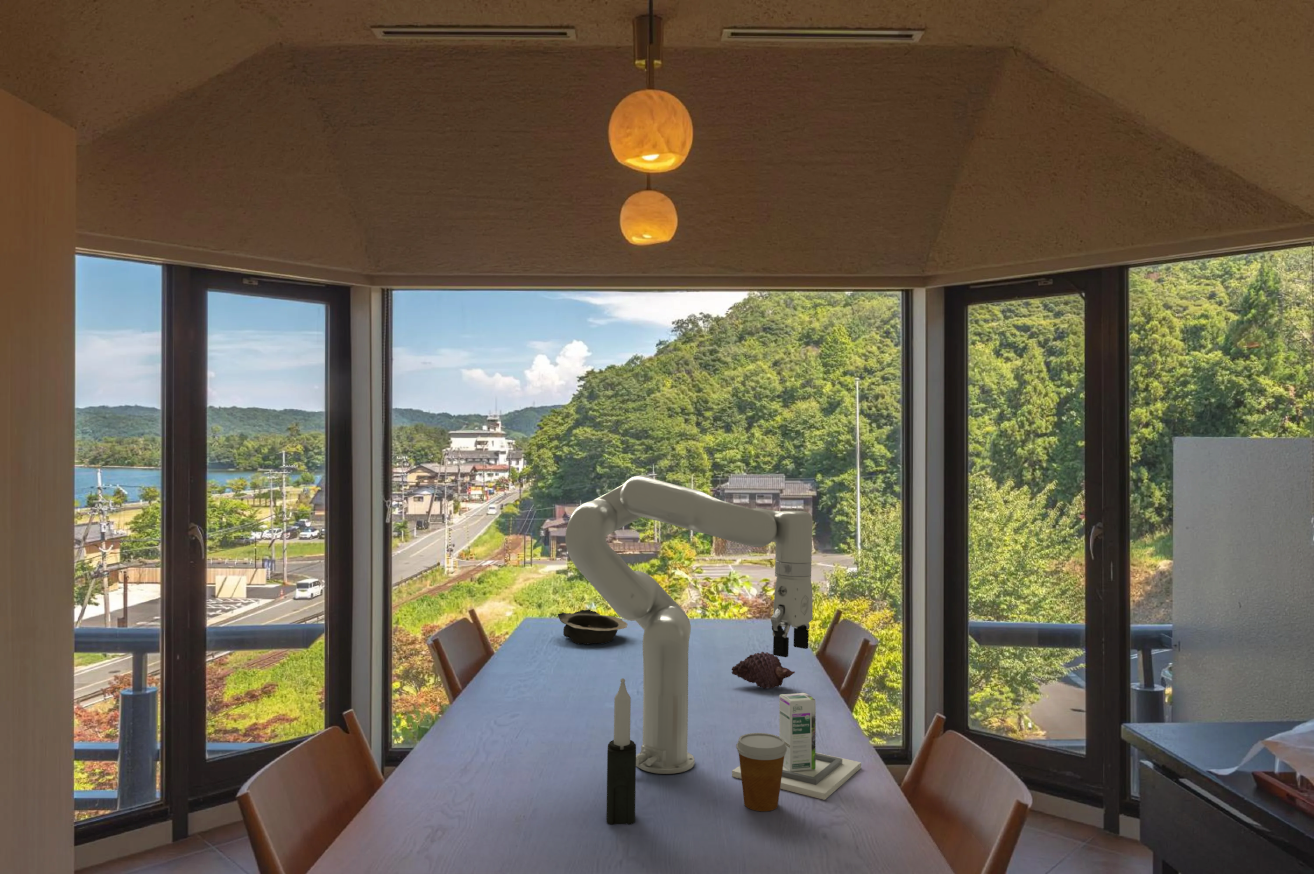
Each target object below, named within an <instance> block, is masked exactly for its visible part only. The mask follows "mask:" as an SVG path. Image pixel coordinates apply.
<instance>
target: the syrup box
mask: <svg viewBox="0 0 1314 874" xmlns="http://www.w3.org/2000/svg"><path fill="white" fill-rule="evenodd" d="M778 701H779V704H778V705H779V706H778V709H779V715H778V717H779V719H778V720H779V725H778V726H779V732H778V733H779V737H781V738H782V739H784V741H785V746H786V747H787V751H786V754H785V755H784V763H783V766H784V767H785V768H786V769H787V770H789V771H790V772H794V771H803V770H815V768H816V754H815V753H817V751H816V741H817V740H816V734H817V733H816V728H817V727H816V720H817V719H816V713H817V711H816V709H817V707H816V705H817V704H816V702H817V701H816V698H814V697H812V696H811V695H810V694H808V693H806V692H800V693H786V694H783V693H782V694H779V700H778Z"/></svg>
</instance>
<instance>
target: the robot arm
mask: <svg viewBox="0 0 1314 874" xmlns="http://www.w3.org/2000/svg"><path fill="white" fill-rule="evenodd" d="M640 518H644V519H645V518H646V519H647V520H648V519H649V520H653V521H657V522H661V523H665V524H669V525H672V526H675V527H679V528H683V529H686V530H690V531H692V532H696V533H701V534H705V535H708V536H711V537H715V538H719V539H722V540H725V541H729V542H732V543H737V544H741V545H745V546H748V547H752V548H753V547H754V548H763V547H767V546H768V545H769V544H771V543H775V561H774V564H775V565H774V566H775V567H774V577H776V580H775V586H774V587H775V588H774V595H773V596H774V599H773V612H772V613H773V614H772V615H771V617H770V622H771V630H772V636H773V643H772V645H773V647H772V654H773V655H774V656H777V657H781V658H788V657H789V646H790V644H789V642H790V641H789V640H790V639H789V638H790V637H789V636H788V635H789V632H790V628H791V627H792V628H793V647H794V648H799V649H804V650H805V649H806V650H807V649H808V648H809V636H810V635H809V633H810V631H809V630H810V623H811V622H812V620H813V608H814V606H813V604H814V602H813V586H812V559H813V558H812V556H813V555H812V553H813V552H812V551H813V527H814V526H813V523H814V522H813V521H814V520H813V515H812V514H811V513H810V512H807V511H803V510H782V511H779V510H774V509H773V510H772V509H766V508H762V507H756V508H755V507H754V508H750V507H746V506H741V505H738V504H735V503H731V502H727V501H724V500H721V499H718V498H716V497H714V496H711V495H709V494H708V493H706V492H704V491H701V490H698V489H695V488H690V487H687V486H682V485H679V484H674V483H670V482H667V481H664V480H659V479H655V478H654V477H652V476H650V475H645V474H639V475H635V476H631V477H630V478H628V479H627V480H626V481H625V482H624V483H622V485H620V486H618V487H616V488H614V489H612V490H610V491H609V492H607V493H605V494H603V495H601V496H599V497H597V498H595V499H593V500H590V501H587V502H583V503H582V504H580V505H578V506H577V508H575V510H574V511H573V512H572V514H571V516H570V517H569V520H568V523H567V526H566V529H565V530H566V531H565V536H564V537H565V548H566V551H567V553H568V556H569V558H570V560H571V562H572V564H573V565H574V566H575V567H576V569H577V570H578V571H579V572H580V573H581V575H582V576H583V577H584V578H585V579H586V580H587V581H588V582H589V584H591V586H592V587H593V588H594V590H596V591H597V593H598V594H599V595H600V596H601V597H602V598H603V600H605V602H607V604H608V605H609V606H610V607H611V608H612V609H613V611H614V612H615V613H616V614H617V615H618V616H619V617H620V618H621V619H624V620H627V621H631V622H632V621H635V622H636V623H637V625H639V627H641V628H642V629H643V630H644V632H643V635H642V636H643V637H642V662H643V668H642V669H643V681H642V682H643V683H642V684H643V685H642V686H643V687H642V690H643V693H642V695H643V697H642V698H643V699H642V701H643V702H642V745H641V746H640V752H639V753H636V768H638V769H641V770H643V771H645V772H648V773H652V774H660V775H674V774H675V775H676V774H680V773H681V774H682V773H684V772H687V771H689V770H691V769H692V768H693V767H695V765H696V764H695V761H696V759H695V756H694V755H693V754H691V753H690V752H688V741H689V740H688V739H689V738H688V737H689V736H688V734H689V733H688V732H689V731H688V730H689V726H688V725H689V724H688V722H689V648H690V647H689V646H690V638H691V633H692V632H691V629H692V626H691V625H692V624H691V621H690V618H689V617H688V615H687V613H686V612H685V611H684V610H683V608H681V606H680V604H678V603H677V602H676V601H675V599H674V598H673V597H671V595H670V594H669V593H668V592H667V591H666V590H665V589H664V588H663V587H662V586H661V584H660V583H658V582H657V580H655V578H653V577H652V576H651V575H649V574H648V573H646V572H643V571H639V570H633V569H632V568H631V567H630V565H628V564H627V562H625V561H624V559H623V558H622V556H620V555H619V554H618V553H617V551H616V550H614V549H613V548H612V547H611V546H610V545H609V544H608V542H607V539H606V537H608V536H609V535H611V534H612V533H614V532H616V531H618V530H620V529H622V528H623V527H625V526H628V525H629V524H631V523H633V522H634V521H636V520H638V519H640Z"/></svg>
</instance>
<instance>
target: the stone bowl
mask: <svg viewBox="0 0 1314 874" xmlns="http://www.w3.org/2000/svg"><path fill="white" fill-rule="evenodd" d="M557 617H558V619H559V621H560V622H561V623H562V624H564V627H563V630H562V631H563V636H564V637H566V638H569V639H571V640H572V642H573V643H575V644H577V643H579V645H582V643H583V644H584V645H592V644H599V643H600V645H602V644H601V643H605V644H606V643H609V642H612V641H613V640H614V638H615V637H616V635H617V633H618V631H619V630H623V629H626V628H627V627H628V623H627V622H626V621H624V620H622V619H623V618H619V617H616V616H611V615H605V614H604V615H602V614H600V613H599V612H597V611H594V610H591V609H580V610H579V611H576V612H573V613H571V612H569V613H567V612H561V613H557Z"/></svg>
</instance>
